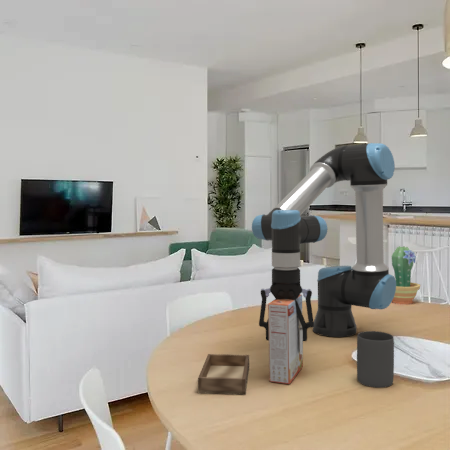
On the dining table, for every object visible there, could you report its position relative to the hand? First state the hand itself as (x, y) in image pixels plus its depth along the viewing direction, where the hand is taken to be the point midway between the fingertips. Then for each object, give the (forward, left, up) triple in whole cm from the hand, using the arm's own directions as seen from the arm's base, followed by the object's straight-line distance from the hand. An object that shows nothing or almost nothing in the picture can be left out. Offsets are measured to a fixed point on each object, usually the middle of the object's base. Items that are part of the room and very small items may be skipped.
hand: (286, 352), depth 133 cm
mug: (-23, +1, -6) cm, 24 cm away
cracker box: (0, 0, -6) cm, 6 cm away
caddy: (+16, +5, -6) cm, 18 cm away
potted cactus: (-54, -95, -6) cm, 110 cm away
